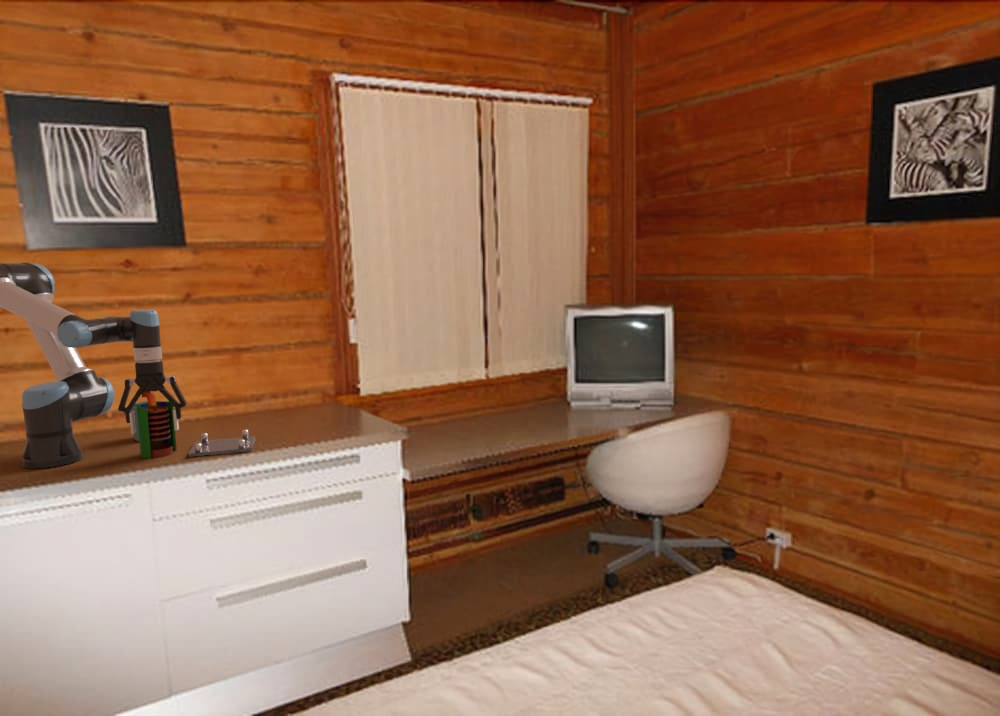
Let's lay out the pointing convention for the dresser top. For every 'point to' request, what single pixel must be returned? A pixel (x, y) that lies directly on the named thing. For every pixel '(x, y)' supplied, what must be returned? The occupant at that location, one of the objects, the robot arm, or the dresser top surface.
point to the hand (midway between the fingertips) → (155, 431)
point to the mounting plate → (222, 445)
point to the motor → (156, 427)
